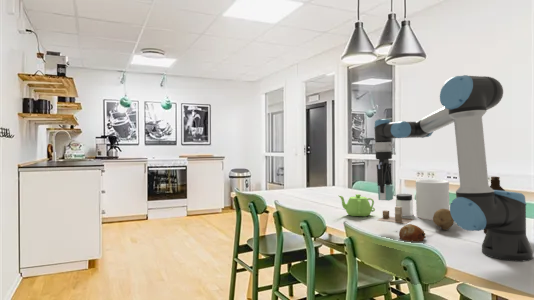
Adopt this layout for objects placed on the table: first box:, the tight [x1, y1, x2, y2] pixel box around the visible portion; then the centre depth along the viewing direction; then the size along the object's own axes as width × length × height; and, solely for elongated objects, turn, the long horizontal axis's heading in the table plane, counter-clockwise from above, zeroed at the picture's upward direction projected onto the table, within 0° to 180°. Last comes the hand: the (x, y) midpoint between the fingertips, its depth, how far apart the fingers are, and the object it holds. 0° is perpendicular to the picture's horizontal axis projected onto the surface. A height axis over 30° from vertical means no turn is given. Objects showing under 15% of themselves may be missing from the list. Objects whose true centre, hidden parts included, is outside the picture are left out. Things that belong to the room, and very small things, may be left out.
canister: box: [415, 179, 450, 221], centre depth 184 cm, size 16×16×20 cm
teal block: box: [377, 184, 394, 201], centre depth 168 cm, size 5×5×7 cm
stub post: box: [382, 209, 390, 218], centre depth 186 cm, size 3×3×4 cm
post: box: [394, 205, 403, 221], centre depth 177 cm, size 3×3×7 cm
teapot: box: [338, 193, 376, 217], centre depth 194 cm, size 16×14×13 cm
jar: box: [395, 193, 414, 217], centre depth 191 cm, size 9×8×12 cm
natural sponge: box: [432, 209, 455, 231], centre depth 160 cm, size 9×9×10 cm
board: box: [377, 216, 414, 225], centre depth 180 cm, size 12×15×1 cm
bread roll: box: [398, 223, 427, 243], centre depth 149 cm, size 10×10×8 cm
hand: (385, 198), depth 168 cm, fingers closed on teal block, 5 cm apart
